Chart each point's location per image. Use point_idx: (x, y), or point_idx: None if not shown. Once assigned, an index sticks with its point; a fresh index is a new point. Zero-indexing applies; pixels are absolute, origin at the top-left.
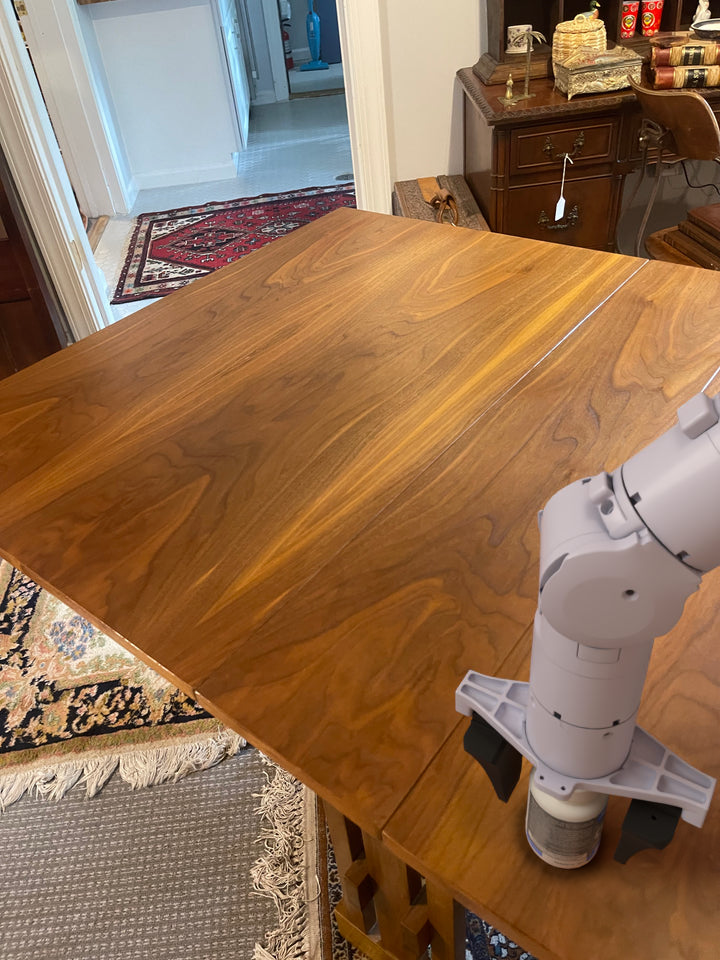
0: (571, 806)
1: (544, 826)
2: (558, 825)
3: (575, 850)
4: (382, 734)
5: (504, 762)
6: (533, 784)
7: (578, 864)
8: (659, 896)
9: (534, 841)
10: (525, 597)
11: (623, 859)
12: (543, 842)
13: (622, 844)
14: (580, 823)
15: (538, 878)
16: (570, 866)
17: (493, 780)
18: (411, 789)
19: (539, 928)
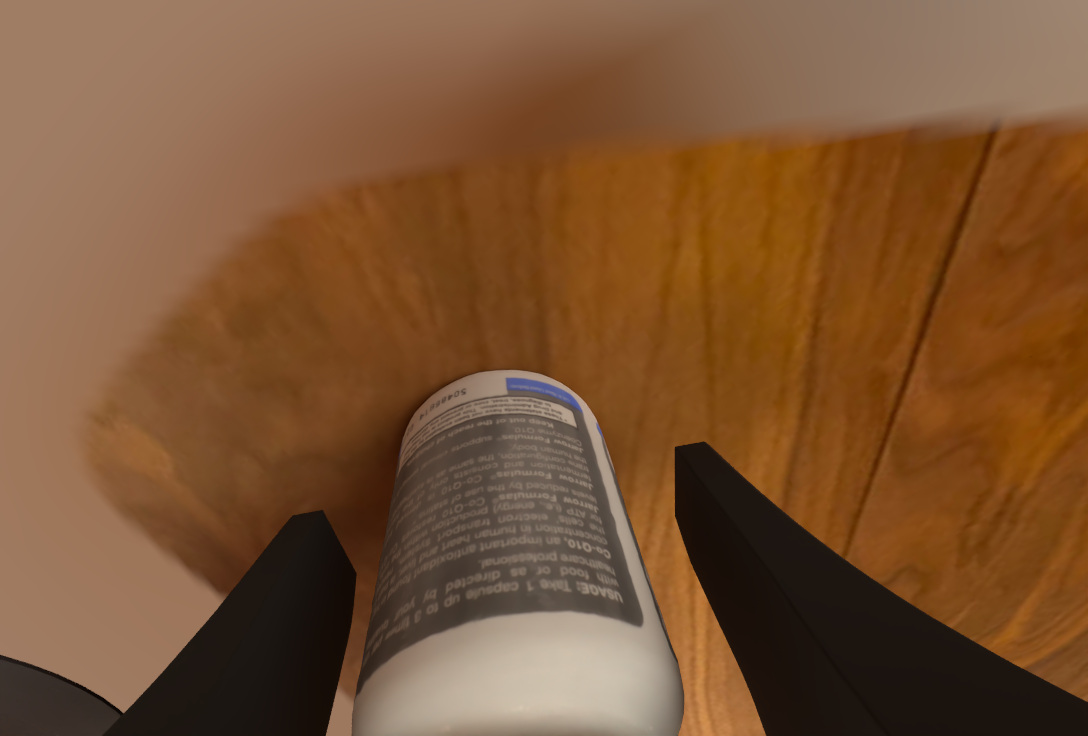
0: (441, 724)
1: (521, 509)
2: (465, 574)
3: (412, 476)
4: (1070, 356)
5: (831, 711)
6: (645, 673)
7: (411, 424)
8: (225, 476)
9: (542, 406)
10: None
11: (266, 555)
12: (511, 431)
13: (222, 662)
14: (388, 647)
15: (482, 320)
16: (426, 405)
17: (788, 537)
18: (937, 284)
19: (385, 199)
